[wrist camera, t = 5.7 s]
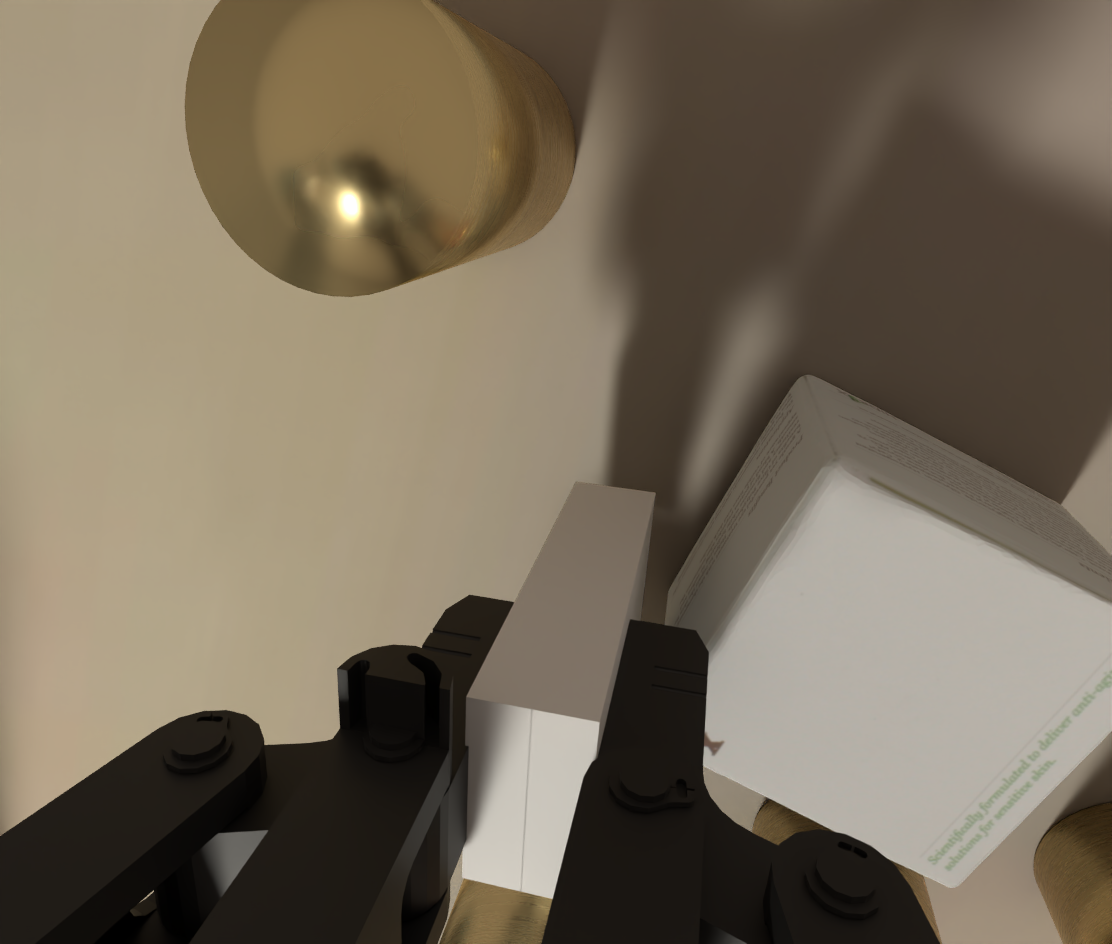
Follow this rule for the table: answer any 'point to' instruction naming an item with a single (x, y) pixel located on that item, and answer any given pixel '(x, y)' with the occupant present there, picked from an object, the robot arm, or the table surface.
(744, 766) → the small box
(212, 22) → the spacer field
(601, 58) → the table surface
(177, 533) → the table surface
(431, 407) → the table surface
